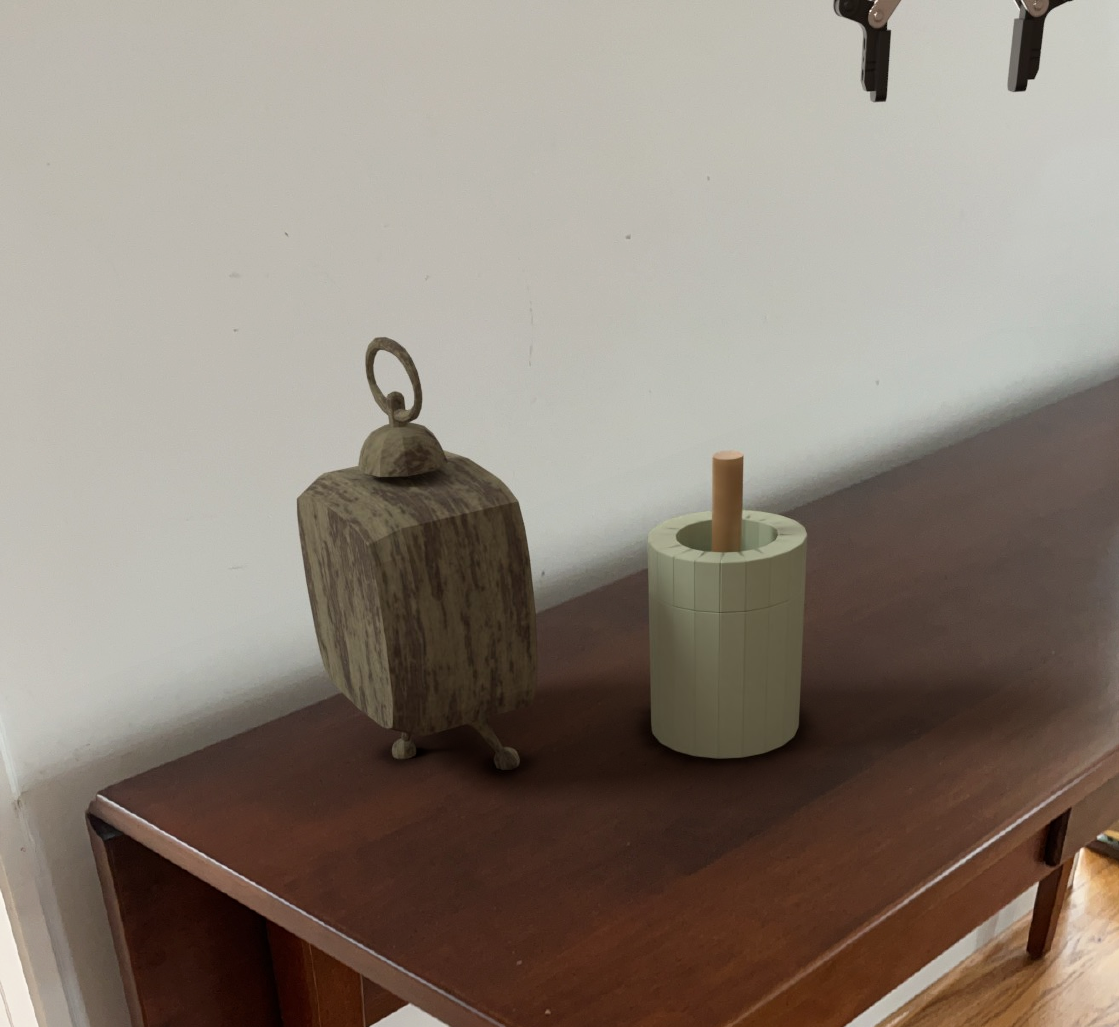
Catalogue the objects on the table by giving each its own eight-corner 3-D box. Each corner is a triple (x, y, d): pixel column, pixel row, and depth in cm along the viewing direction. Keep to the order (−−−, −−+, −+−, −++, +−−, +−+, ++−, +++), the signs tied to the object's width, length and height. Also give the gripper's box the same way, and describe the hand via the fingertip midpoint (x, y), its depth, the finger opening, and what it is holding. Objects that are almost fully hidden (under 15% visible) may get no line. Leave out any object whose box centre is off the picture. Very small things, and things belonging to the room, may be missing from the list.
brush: (747, 713, 93) (753, 445, 83) (751, 734, 91) (758, 461, 81) (698, 715, 94) (698, 448, 84) (701, 736, 91) (702, 464, 81)
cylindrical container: (788, 699, 96) (796, 505, 88) (806, 763, 89) (816, 557, 81) (649, 706, 97) (645, 513, 89) (654, 770, 89) (651, 565, 81)
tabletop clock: (547, 776, 89) (517, 347, 74) (416, 818, 86) (357, 377, 71) (446, 698, 99) (402, 308, 85) (326, 732, 96) (258, 332, 81)
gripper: (1086, -251, 82) (1046, 83, 91) (836, -231, 82) (823, 99, 92) (1127, -267, 76) (1079, 93, 85) (857, -246, 76) (840, 109, 86)
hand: (946, 96), depth 88 cm, fingers open, 8 cm apart
